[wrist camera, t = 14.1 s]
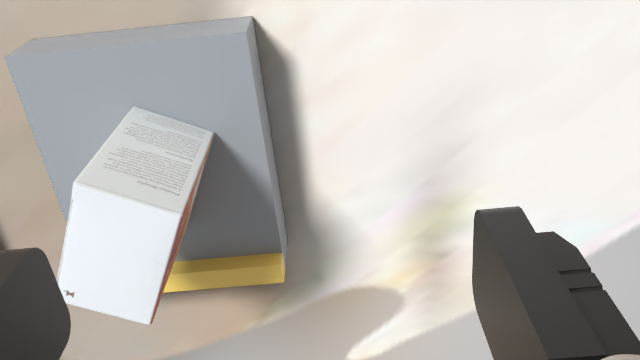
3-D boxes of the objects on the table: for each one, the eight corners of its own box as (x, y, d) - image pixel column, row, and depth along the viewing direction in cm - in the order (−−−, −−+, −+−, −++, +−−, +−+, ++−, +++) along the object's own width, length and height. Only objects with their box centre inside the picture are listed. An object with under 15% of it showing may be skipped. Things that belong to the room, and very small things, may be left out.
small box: (188, 226, 42) (150, 330, 32) (110, 203, 41) (48, 303, 31) (217, 129, 38) (185, 216, 29) (132, 102, 37) (71, 182, 28)
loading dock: (32, 39, 39) (-8, 64, 34) (252, 16, 38) (243, 38, 33) (107, 254, 48) (83, 299, 43) (287, 239, 47) (284, 282, 42)
